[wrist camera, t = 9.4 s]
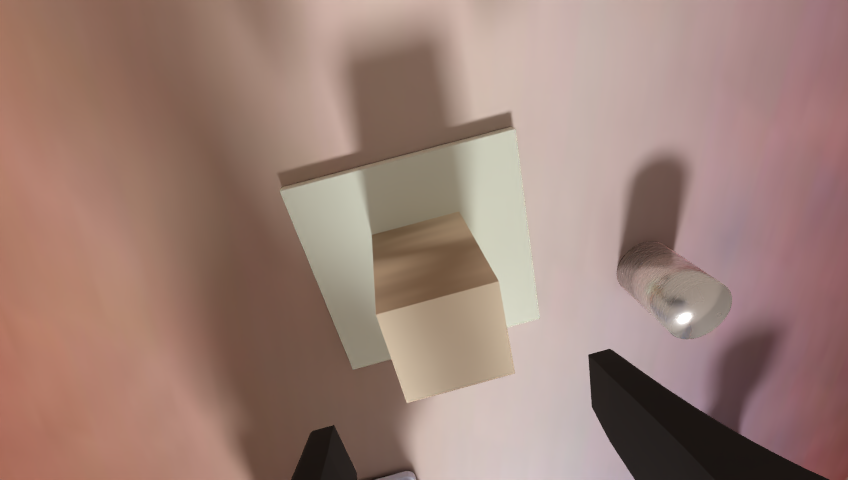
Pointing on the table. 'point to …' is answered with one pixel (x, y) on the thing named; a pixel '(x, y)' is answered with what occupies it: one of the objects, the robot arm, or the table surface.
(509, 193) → the sage pad
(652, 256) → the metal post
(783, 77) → the table surface
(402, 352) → the maple block
